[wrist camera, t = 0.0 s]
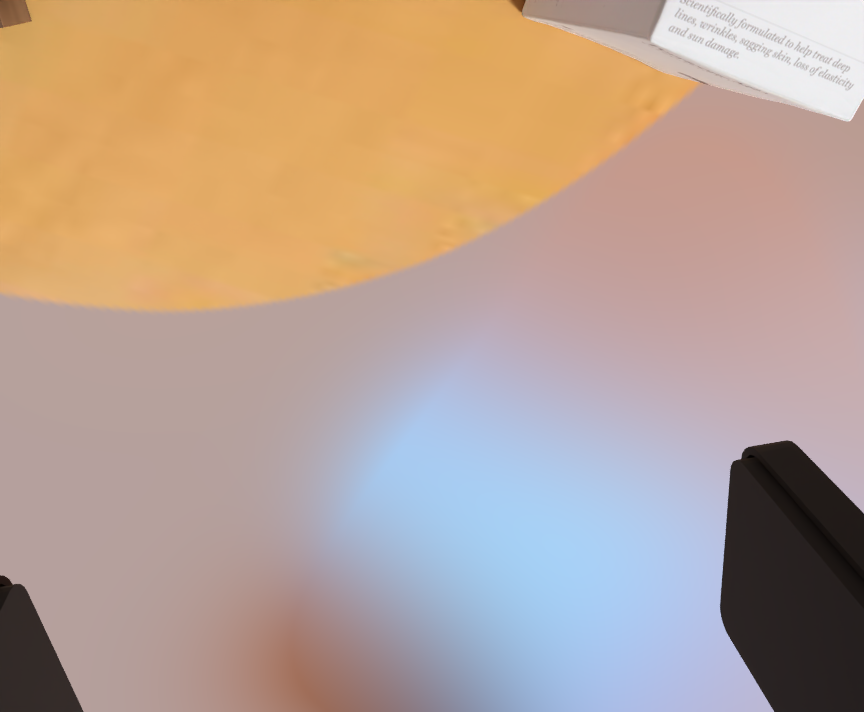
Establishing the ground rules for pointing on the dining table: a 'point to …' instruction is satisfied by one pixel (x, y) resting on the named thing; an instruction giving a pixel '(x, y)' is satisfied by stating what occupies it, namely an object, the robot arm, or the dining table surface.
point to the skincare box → (733, 44)
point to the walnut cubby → (13, 12)
